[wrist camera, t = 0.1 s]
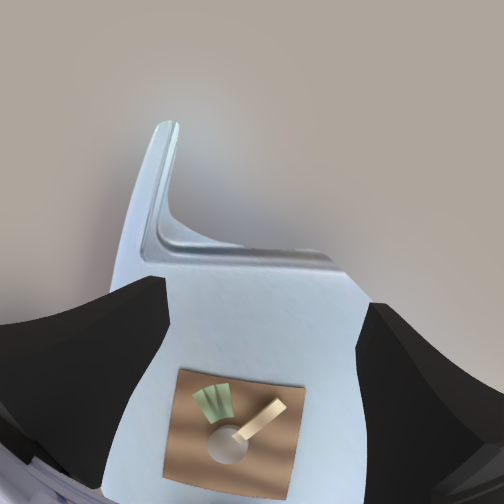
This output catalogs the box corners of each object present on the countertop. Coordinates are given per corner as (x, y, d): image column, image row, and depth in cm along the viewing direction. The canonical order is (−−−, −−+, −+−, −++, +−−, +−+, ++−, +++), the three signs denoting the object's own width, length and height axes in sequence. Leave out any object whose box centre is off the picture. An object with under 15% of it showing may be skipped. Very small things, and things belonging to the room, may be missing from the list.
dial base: (285, 497, 29) (285, 500, 28) (164, 475, 31) (161, 477, 30) (304, 388, 37) (306, 388, 36) (181, 369, 39) (178, 368, 38)
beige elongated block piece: (229, 463, 31) (225, 471, 27) (205, 437, 33) (198, 443, 29) (293, 413, 34) (296, 416, 30) (268, 388, 36) (268, 389, 32)
